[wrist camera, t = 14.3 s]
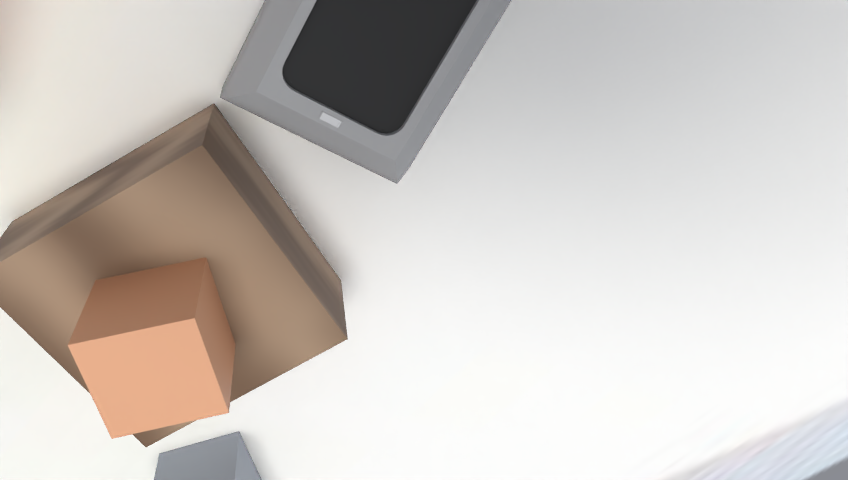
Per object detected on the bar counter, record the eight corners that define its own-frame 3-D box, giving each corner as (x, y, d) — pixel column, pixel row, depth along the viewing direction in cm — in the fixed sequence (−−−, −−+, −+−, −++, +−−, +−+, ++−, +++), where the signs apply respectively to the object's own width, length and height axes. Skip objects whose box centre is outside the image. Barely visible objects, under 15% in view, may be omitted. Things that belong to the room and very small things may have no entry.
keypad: (577, -91, 32) (400, 196, 37) (551, -97, 35) (392, 167, 40) (382, -229, 29) (217, 108, 34) (373, -223, 32) (223, 84, 37)
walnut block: (214, 101, 37) (202, 144, 32) (340, 277, 43) (347, 339, 38) (14, 218, 38) (-29, 279, 33) (162, 374, 44) (145, 447, 39)
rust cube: (206, 257, 34) (194, 318, 30) (235, 344, 37) (228, 412, 33) (95, 280, 34) (67, 344, 30) (132, 366, 37) (111, 438, 32)
